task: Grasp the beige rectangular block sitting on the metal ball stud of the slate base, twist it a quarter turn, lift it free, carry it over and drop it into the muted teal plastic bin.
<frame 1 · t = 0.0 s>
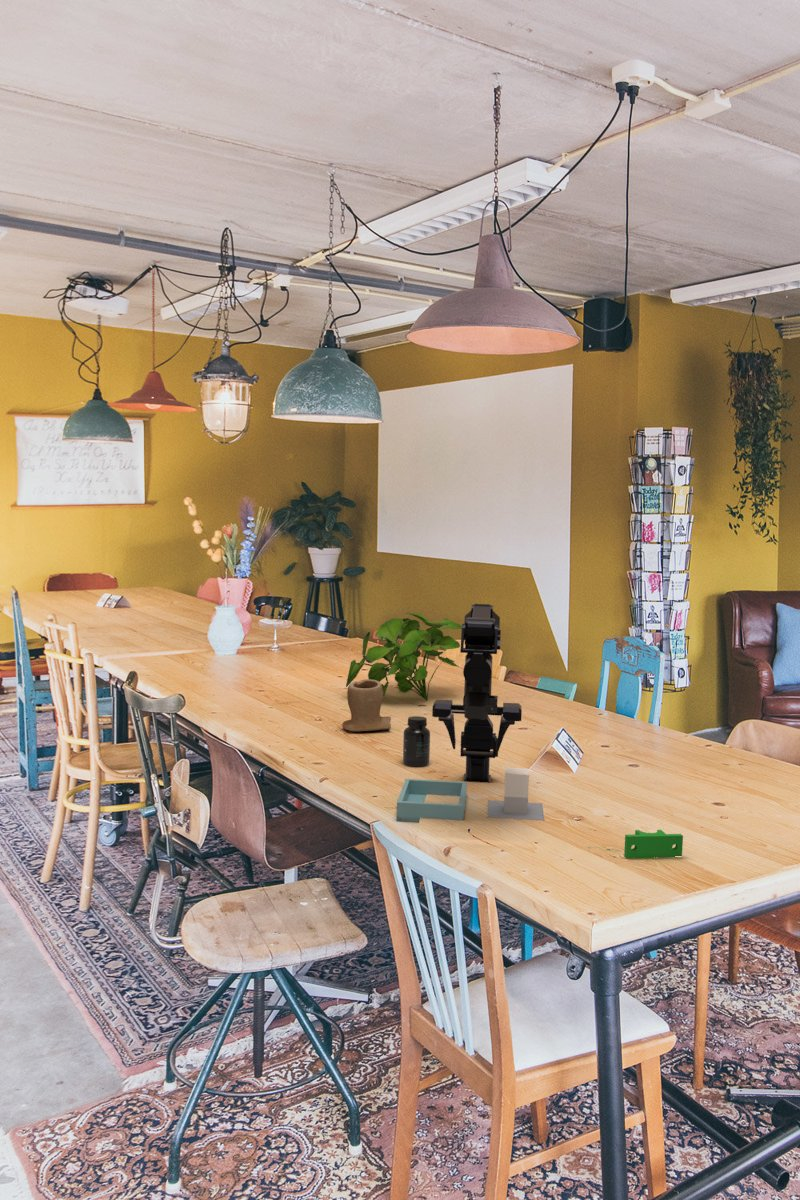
hand: (475, 749, 209), 15 cm above the table, fingers open, 9 cm apart
beige rectangular block: (515, 809, 213), point 1 cm above the table, touching stud base
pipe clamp: (651, 856, 190), on the table
bin: (432, 809, 215), on the table
supplement bottle: (416, 764, 252), on the table
indoor plant: (406, 699, 336), on the table
stud base: (515, 814, 213), on the table
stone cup: (368, 731, 288), on the table
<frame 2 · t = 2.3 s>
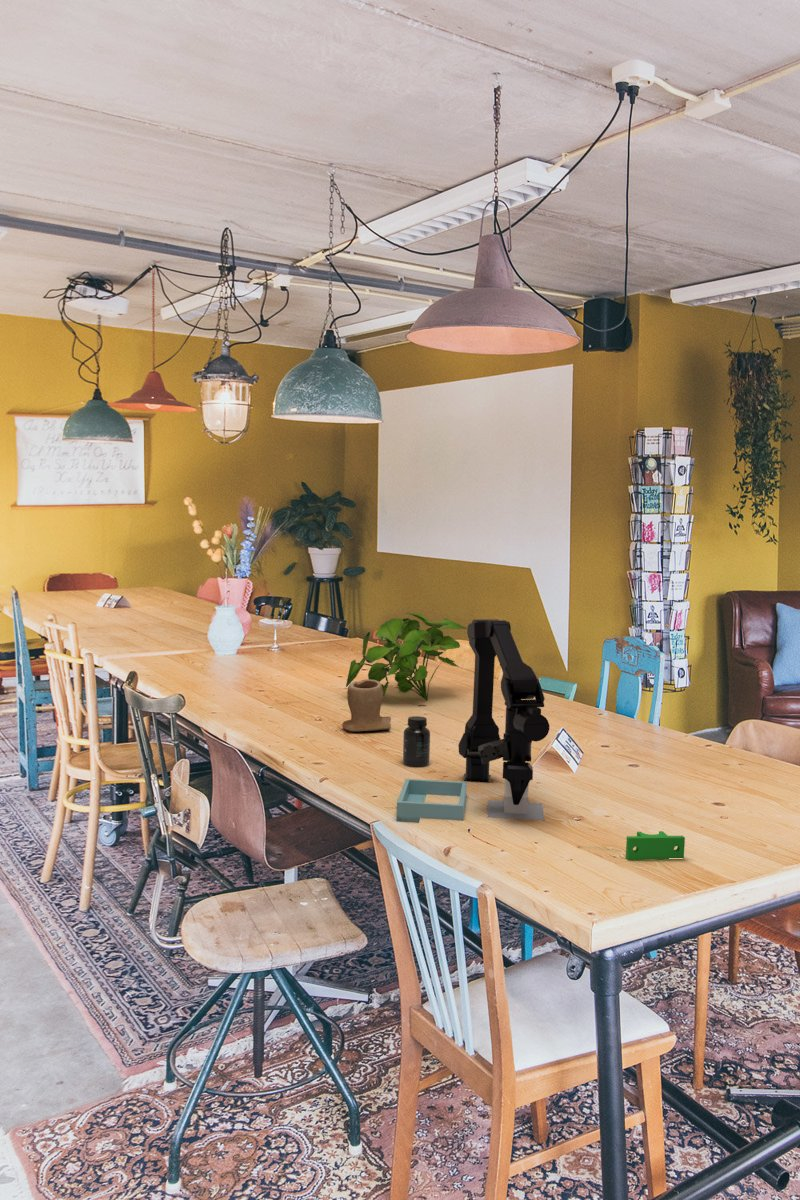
hand: (515, 800, 213), 3 cm above the table, fingers closed on beige rectangular block, 5 cm apart
beige rectangular block: (515, 809, 213), point 1 cm above the table, touching gripper, stud base
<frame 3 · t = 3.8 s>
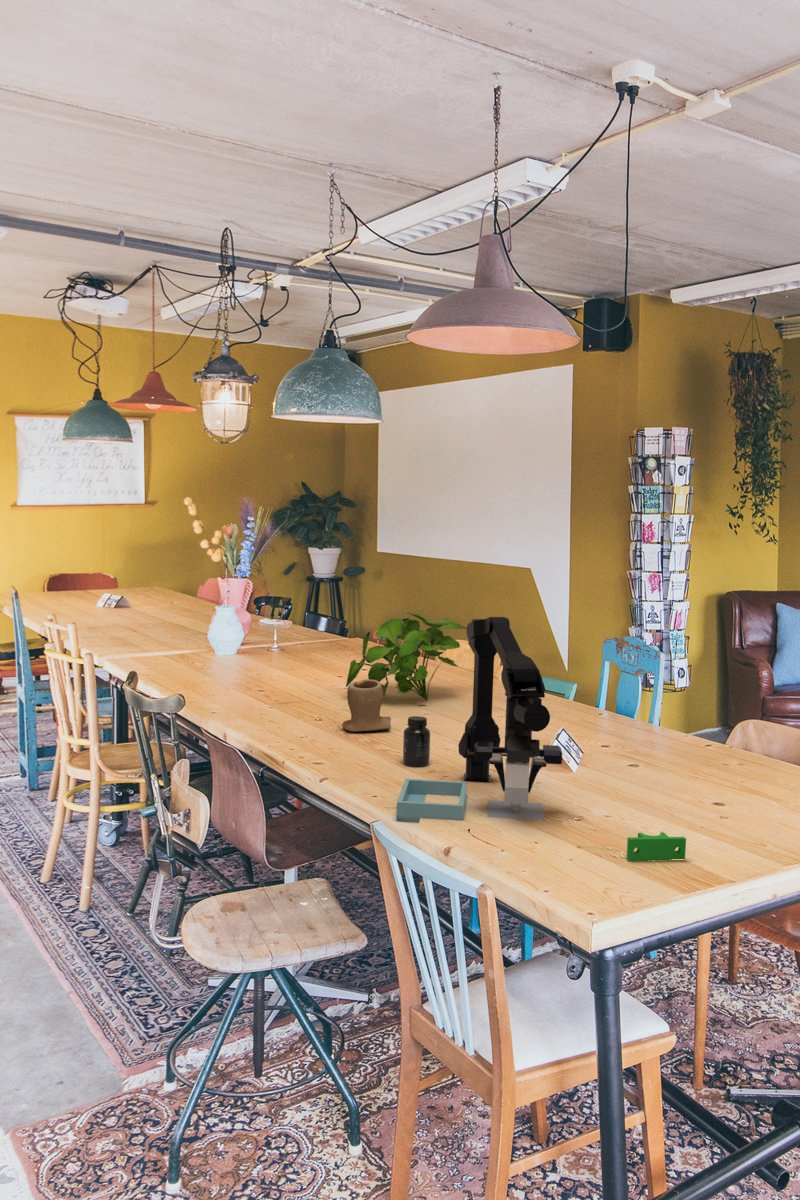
hand: (516, 791, 212), 5 cm above the table, fingers closed on beige rectangular block, 5 cm apart
beige rectangular block: (515, 800, 213), point 3 cm above the table, touching gripper
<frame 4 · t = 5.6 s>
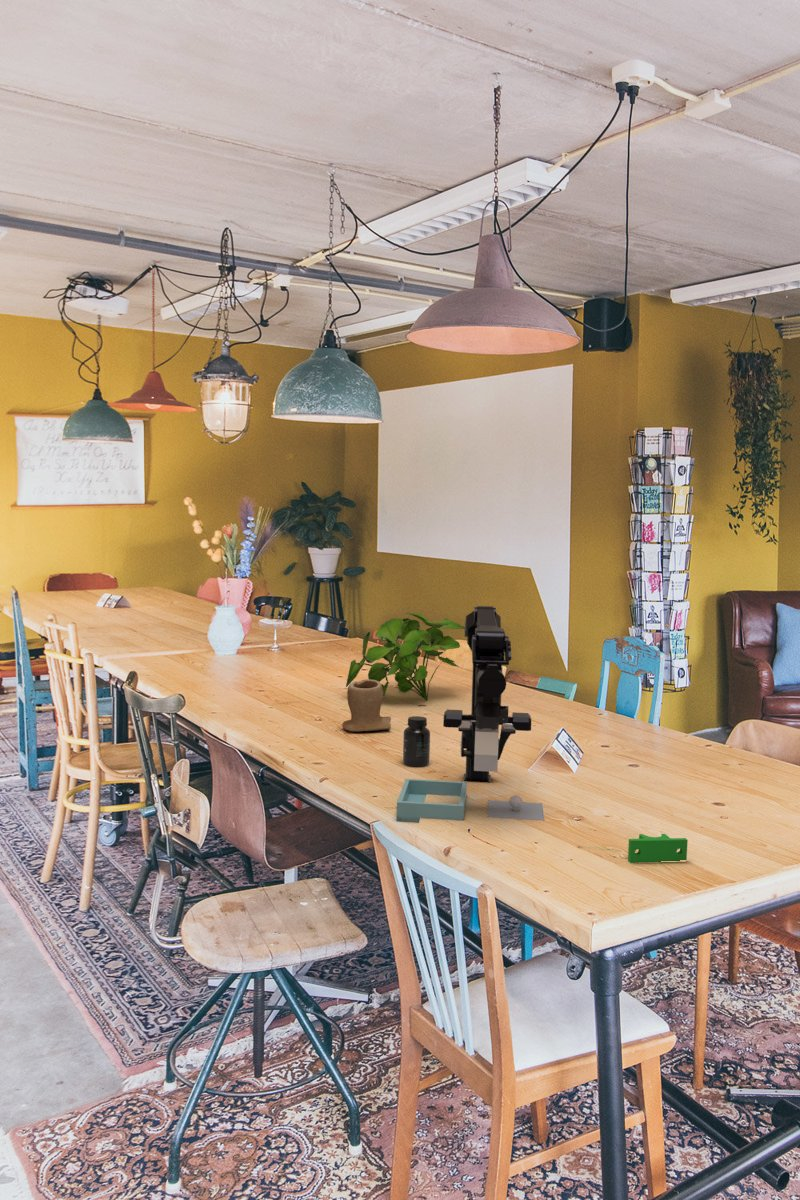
hand: (485, 759, 212), 12 cm above the table, fingers closed on beige rectangular block, 5 cm apart
beige rectangular block: (485, 768, 213), point 10 cm above the table, touching gripper
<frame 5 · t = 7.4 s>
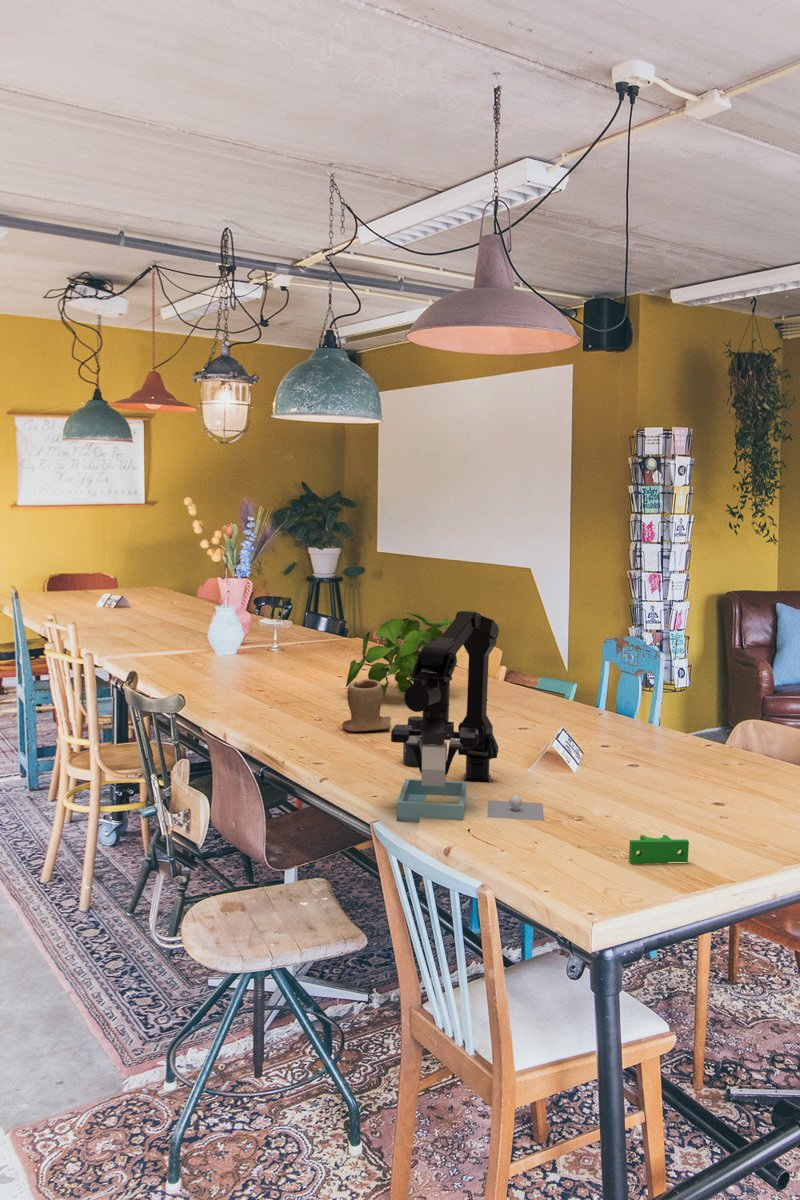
hand: (433, 773, 214), 8 cm above the table, fingers closed on beige rectangular block, 5 cm apart
beige rectangular block: (433, 782, 214), point 6 cm above the table, touching gripper
when the fingers open (4 cm above the table, at t = 8.8 s): beige rectangular block drops 2 cm, resting on bin.
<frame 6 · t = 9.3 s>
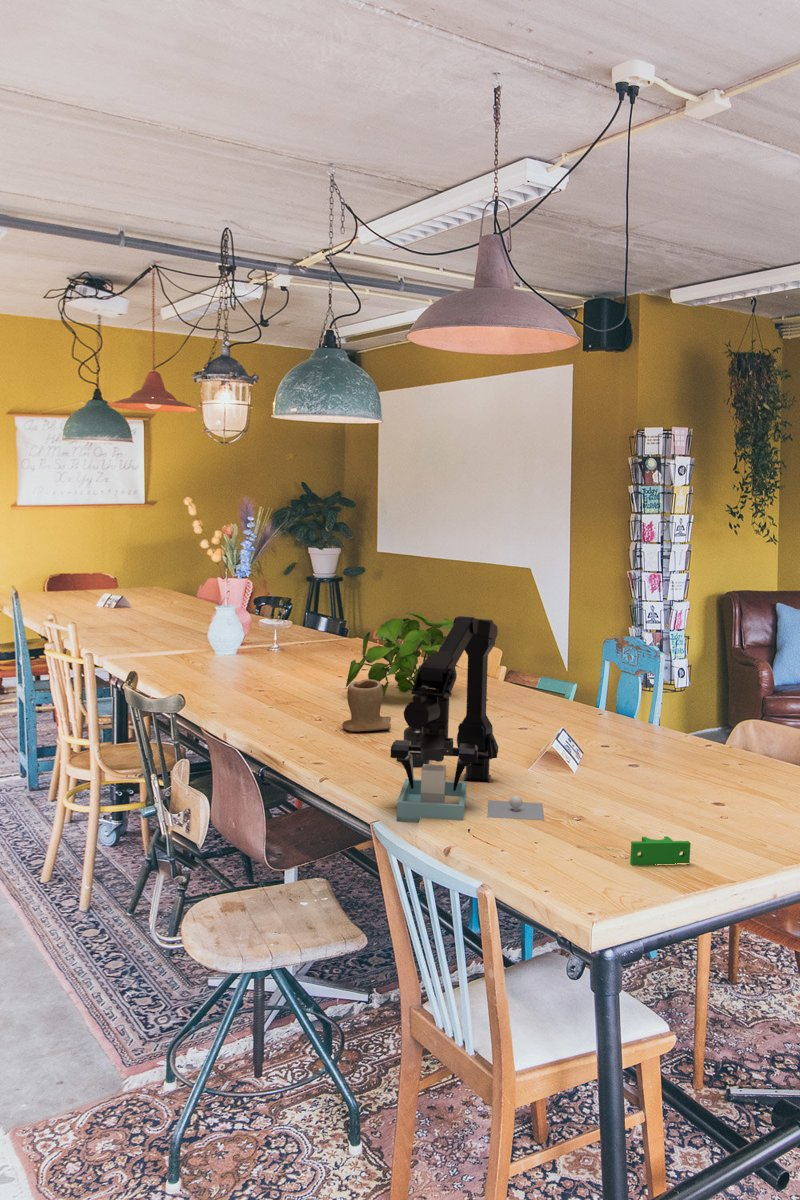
hand: (433, 789, 214), 4 cm above the table, fingers open, 9 cm apart
beige rectangular block: (432, 806, 215), point 1 cm above the table, touching bin
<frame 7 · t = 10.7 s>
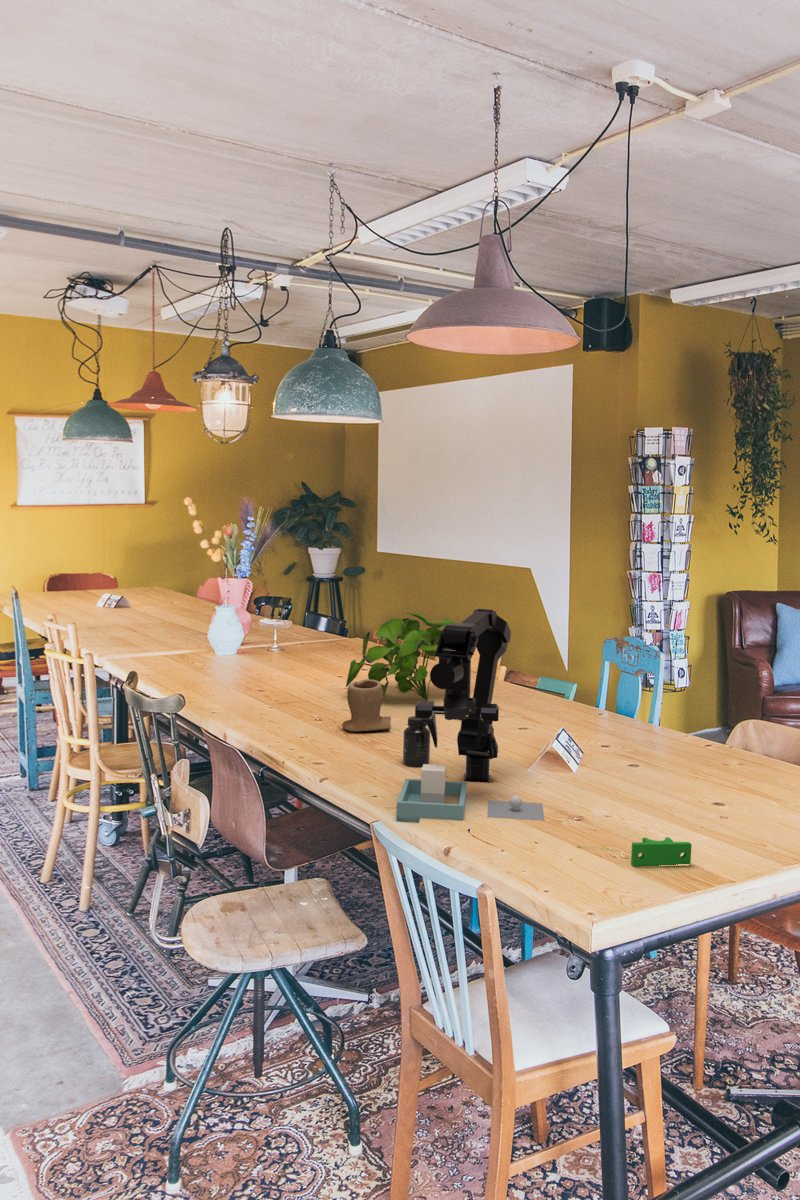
hand: (456, 747, 223), 12 cm above the table, fingers open, 9 cm apart
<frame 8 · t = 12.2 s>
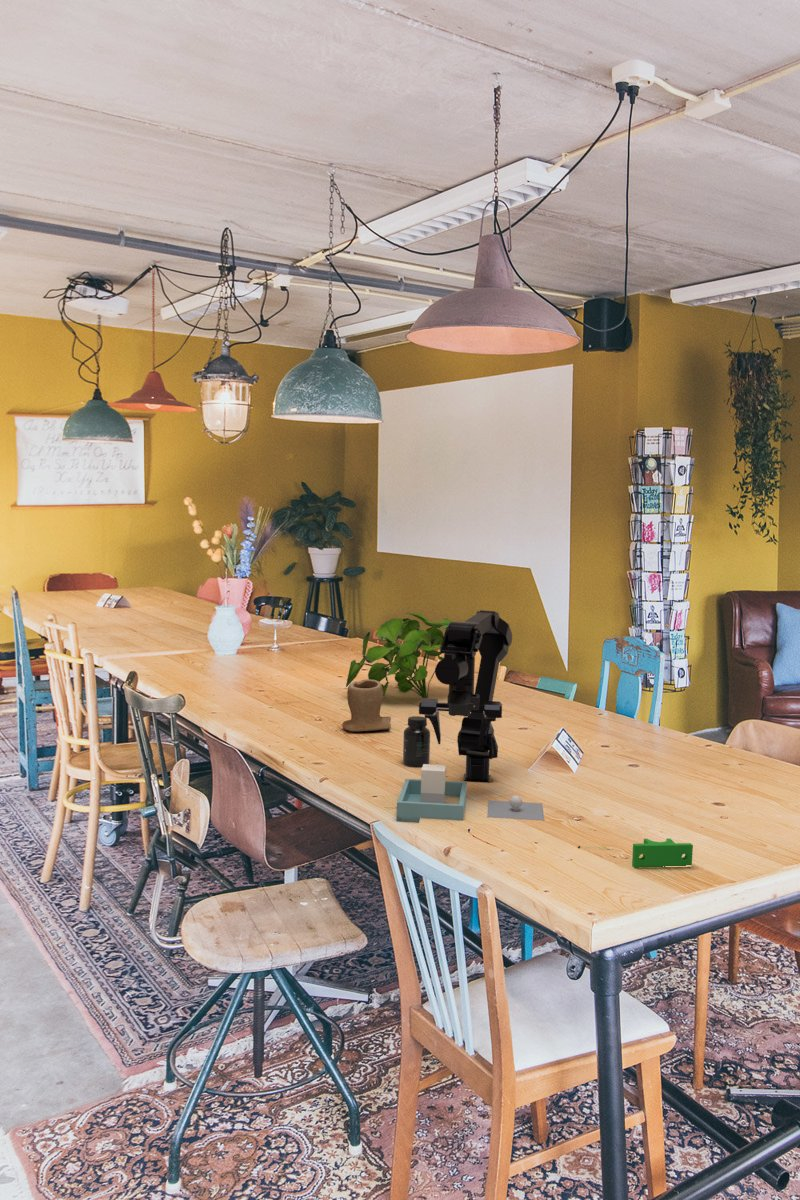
hand: (459, 744, 224), 12 cm above the table, fingers open, 9 cm apart
at the end: beige rectangular block inside the target area on the bin (0.0 cm from its centre), point 0.8 cm above the bin's base; the gripper is holding nothing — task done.
